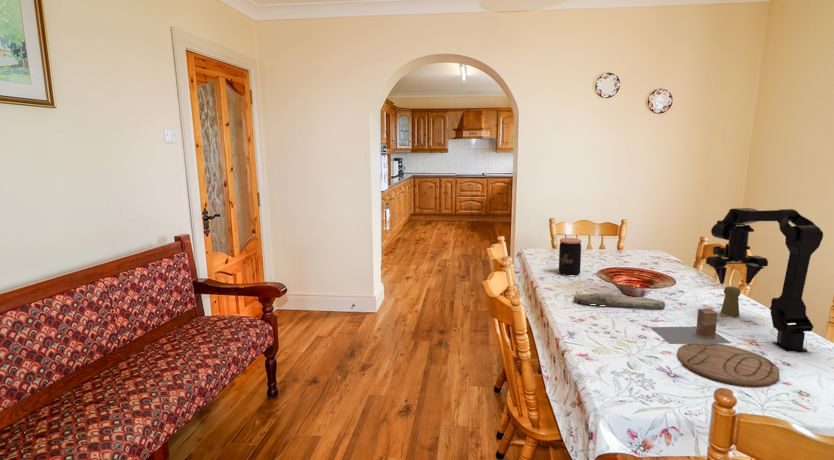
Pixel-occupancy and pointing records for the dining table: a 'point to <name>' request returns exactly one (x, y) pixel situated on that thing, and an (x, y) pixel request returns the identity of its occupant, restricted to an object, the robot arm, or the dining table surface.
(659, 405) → the dining table surface
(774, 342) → the robot arm
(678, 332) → the rubber mat
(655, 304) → the long grey stone
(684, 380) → the dining table surface
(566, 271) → the coffee jar
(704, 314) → the walnut block
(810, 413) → the dining table surface
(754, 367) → the trivet
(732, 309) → the cork
